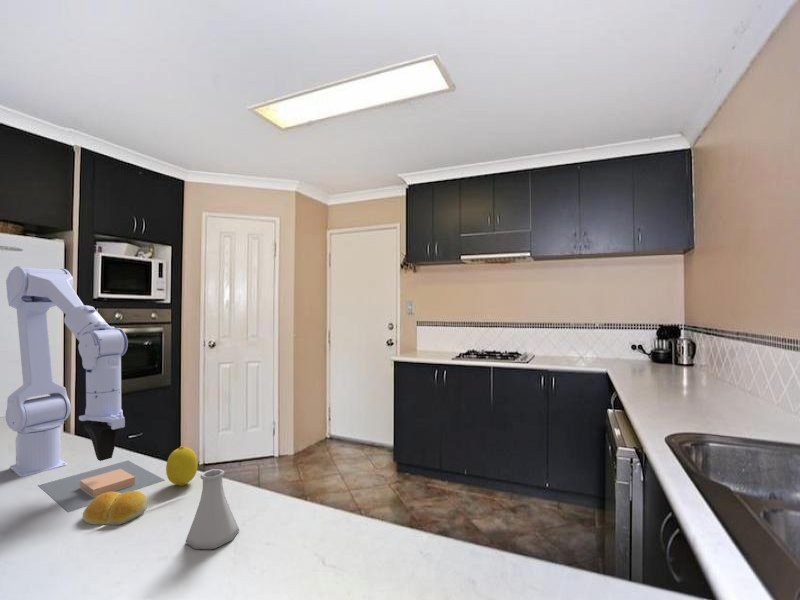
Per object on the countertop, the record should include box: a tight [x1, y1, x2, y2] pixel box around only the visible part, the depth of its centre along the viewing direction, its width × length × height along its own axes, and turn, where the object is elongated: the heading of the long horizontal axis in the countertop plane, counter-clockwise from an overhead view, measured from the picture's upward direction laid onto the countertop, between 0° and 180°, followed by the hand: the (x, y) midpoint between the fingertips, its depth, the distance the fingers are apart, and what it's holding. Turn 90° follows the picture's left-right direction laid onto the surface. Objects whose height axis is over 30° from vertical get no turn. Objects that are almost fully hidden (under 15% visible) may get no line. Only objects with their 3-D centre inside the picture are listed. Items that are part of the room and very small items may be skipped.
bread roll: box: [82, 490, 148, 527], centre depth 73 cm, size 8×9×4 cm
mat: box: [37, 460, 165, 513], centre depth 85 cm, size 18×16×1 cm
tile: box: [80, 469, 135, 498], centre depth 83 cm, size 2×7×7 cm
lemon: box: [165, 445, 199, 487], centre depth 84 cm, size 6×6×8 cm
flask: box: [185, 468, 240, 550], centre depth 66 cm, size 7×7×10 cm
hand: (104, 458), depth 84 cm, fingers closed
